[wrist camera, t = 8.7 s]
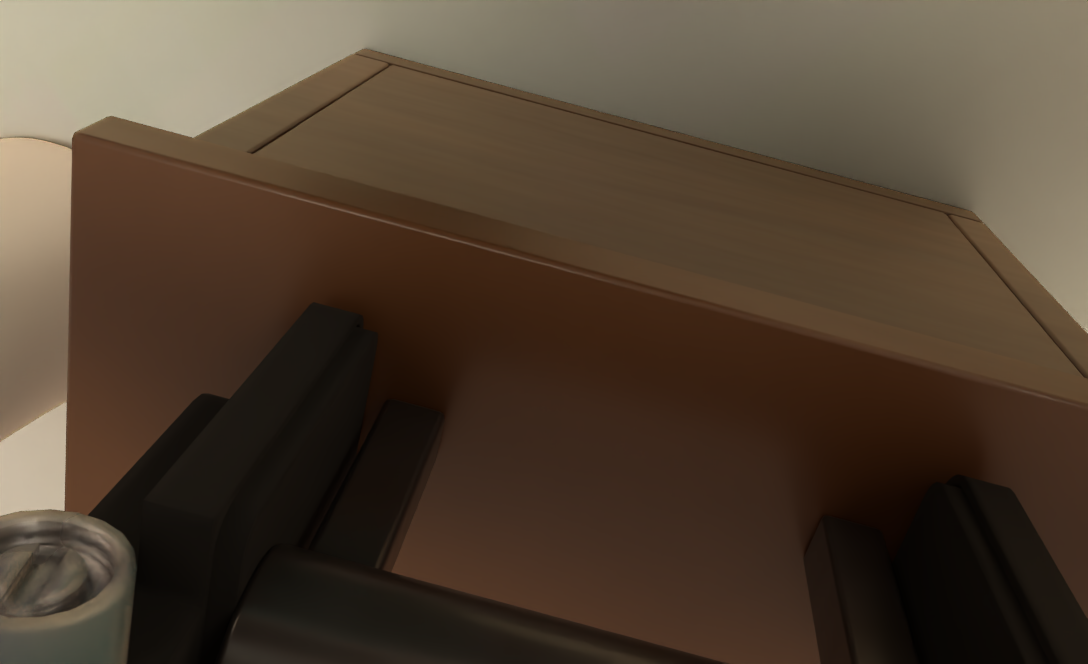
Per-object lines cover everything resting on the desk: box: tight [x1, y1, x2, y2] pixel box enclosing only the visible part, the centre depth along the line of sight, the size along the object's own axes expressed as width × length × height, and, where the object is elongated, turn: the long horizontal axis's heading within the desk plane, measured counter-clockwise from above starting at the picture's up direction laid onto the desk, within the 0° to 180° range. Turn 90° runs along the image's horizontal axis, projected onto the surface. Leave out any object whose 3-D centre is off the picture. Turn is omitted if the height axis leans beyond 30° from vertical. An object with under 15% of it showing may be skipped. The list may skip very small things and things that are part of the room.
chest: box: [194, 49, 1088, 379], centre depth 20 cm, size 16×13×10 cm
